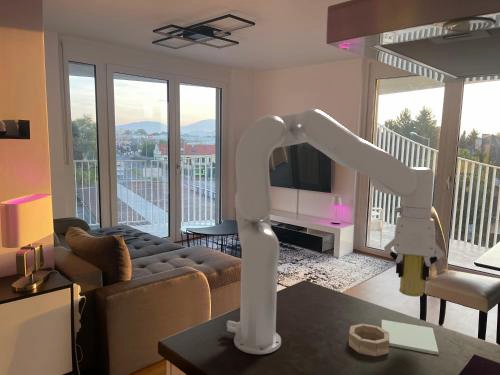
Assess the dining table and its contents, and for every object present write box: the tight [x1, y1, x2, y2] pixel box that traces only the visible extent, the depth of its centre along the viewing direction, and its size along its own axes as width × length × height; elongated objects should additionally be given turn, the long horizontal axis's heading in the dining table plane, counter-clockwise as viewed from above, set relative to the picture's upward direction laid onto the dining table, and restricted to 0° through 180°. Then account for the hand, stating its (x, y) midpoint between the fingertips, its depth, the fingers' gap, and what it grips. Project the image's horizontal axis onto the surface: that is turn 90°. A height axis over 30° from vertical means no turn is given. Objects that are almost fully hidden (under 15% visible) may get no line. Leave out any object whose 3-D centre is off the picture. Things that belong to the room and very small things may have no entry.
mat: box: [380, 319, 440, 356], centre depth 105 cm, size 14×14×1 cm
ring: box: [348, 323, 390, 357], centre depth 100 cm, size 10×10×4 cm
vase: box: [398, 255, 425, 298], centre depth 103 cm, size 6×6×14 cm
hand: (411, 276), depth 103 cm, fingers closed on vase, 5 cm apart
